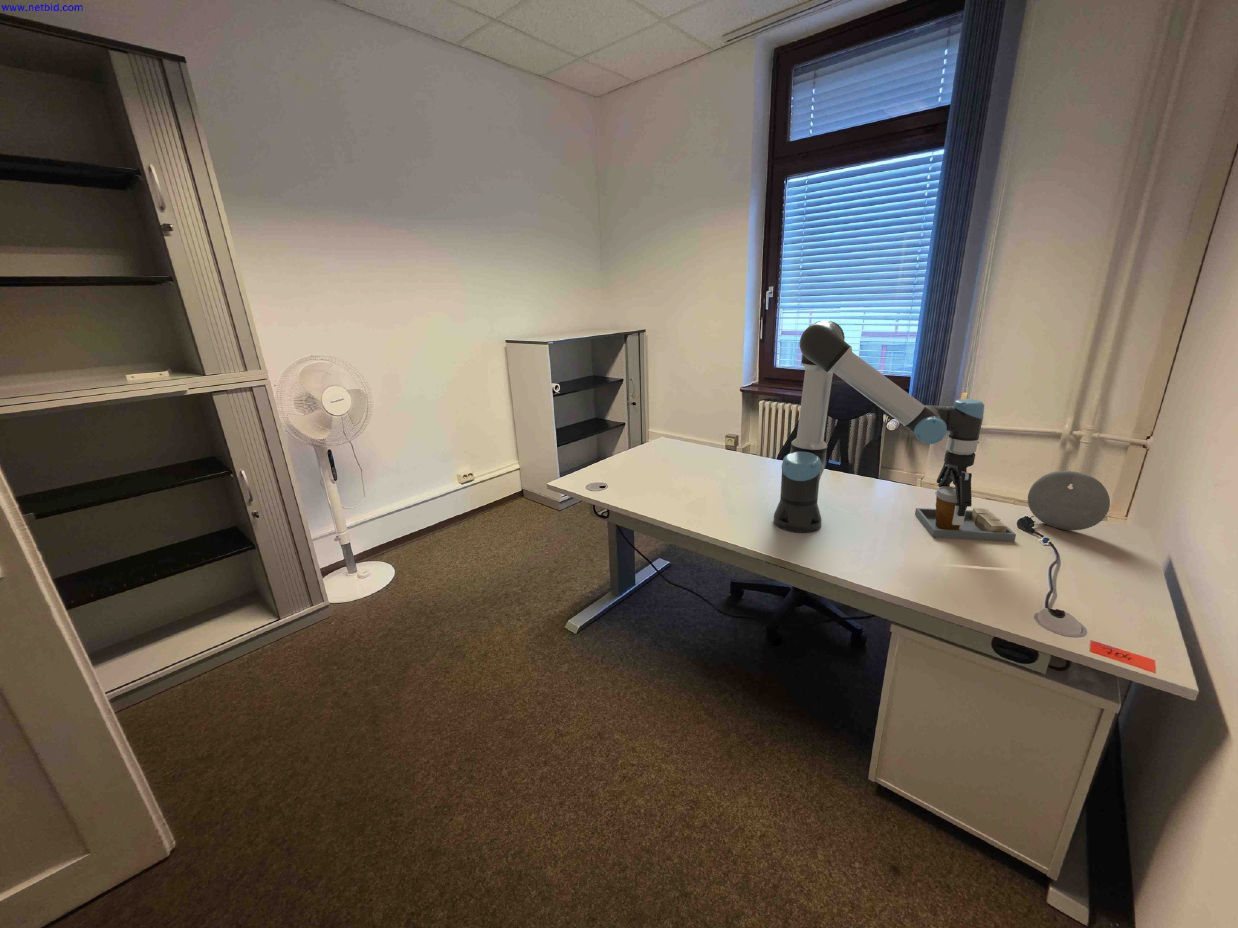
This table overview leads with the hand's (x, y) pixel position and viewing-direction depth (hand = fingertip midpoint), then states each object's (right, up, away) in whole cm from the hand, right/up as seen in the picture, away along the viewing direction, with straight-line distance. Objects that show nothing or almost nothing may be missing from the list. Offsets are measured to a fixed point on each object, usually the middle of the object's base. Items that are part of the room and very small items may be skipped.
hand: (948, 515), depth 154 cm
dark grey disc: (+33, -4, -3) cm, 33 cm away
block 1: (+12, -3, +3) cm, 13 cm away
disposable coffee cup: (0, -4, +1) cm, 4 cm away
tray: (+4, -4, 0) cm, 6 cm away
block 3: (+10, -5, -6) cm, 13 cm away
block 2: (+11, -4, -1) cm, 12 cm away
